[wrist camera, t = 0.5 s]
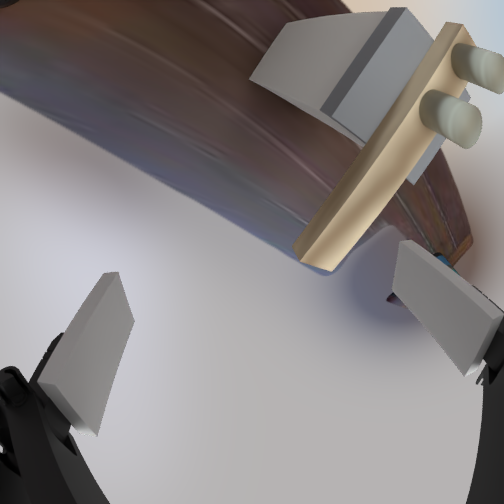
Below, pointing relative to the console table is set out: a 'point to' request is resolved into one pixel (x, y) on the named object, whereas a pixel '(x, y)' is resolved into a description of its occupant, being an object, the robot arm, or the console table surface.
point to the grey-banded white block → (349, 70)
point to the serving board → (403, 142)
